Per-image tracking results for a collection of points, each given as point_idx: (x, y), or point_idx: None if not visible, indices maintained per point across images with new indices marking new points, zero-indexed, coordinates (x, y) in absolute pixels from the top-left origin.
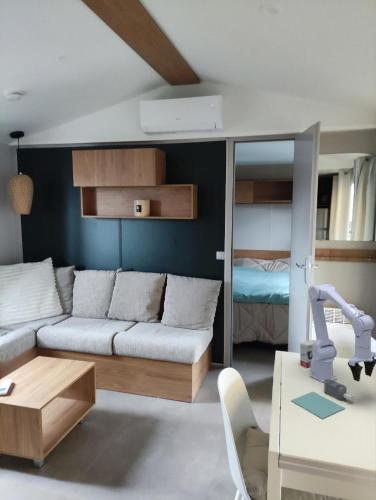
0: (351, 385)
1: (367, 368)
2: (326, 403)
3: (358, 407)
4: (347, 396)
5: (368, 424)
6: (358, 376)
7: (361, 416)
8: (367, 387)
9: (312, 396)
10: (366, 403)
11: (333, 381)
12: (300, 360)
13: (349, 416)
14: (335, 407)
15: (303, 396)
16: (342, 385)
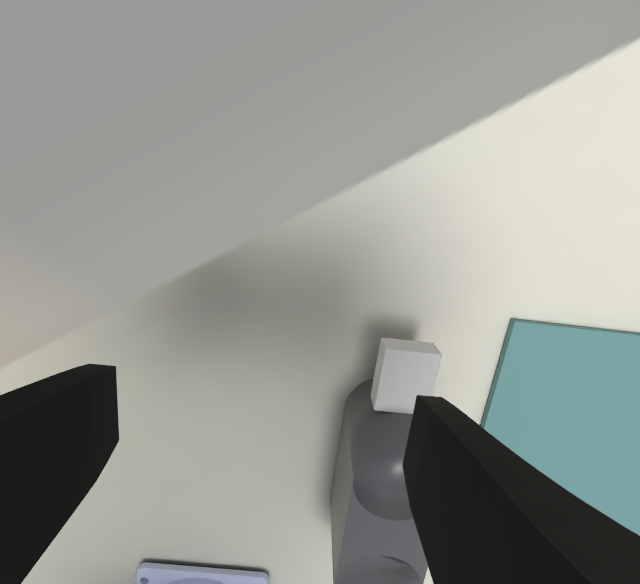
0: (138, 460)
1: (14, 520)
2: (542, 435)
3: (416, 264)
4: (434, 377)
5: (627, 72)
6: (518, 459)
7: (537, 178)
8: None
9: None
10: (308, 253)
11: (349, 569)
12: None
13: (597, 242)
14: (556, 369)
15: None
16: (363, 490)
